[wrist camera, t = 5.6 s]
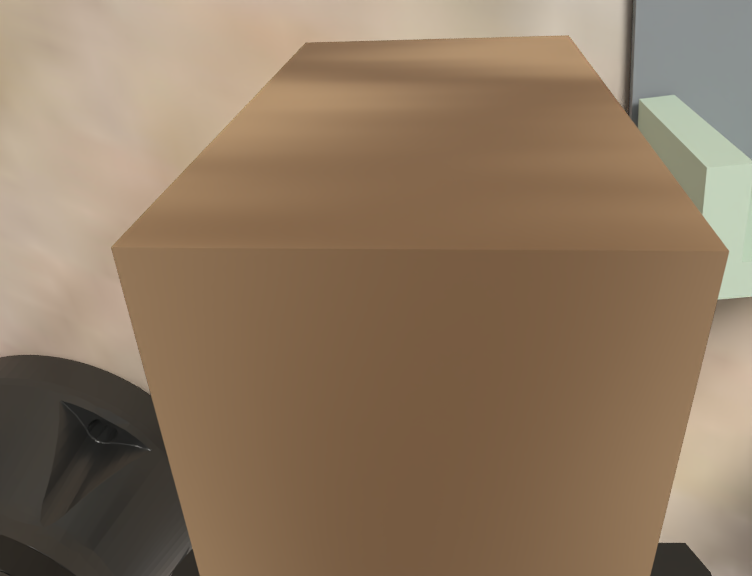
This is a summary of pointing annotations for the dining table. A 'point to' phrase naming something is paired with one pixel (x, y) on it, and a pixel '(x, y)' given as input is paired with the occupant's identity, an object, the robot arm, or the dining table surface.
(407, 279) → the block
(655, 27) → the endcap base
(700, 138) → the end cap
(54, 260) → the dining table surface
